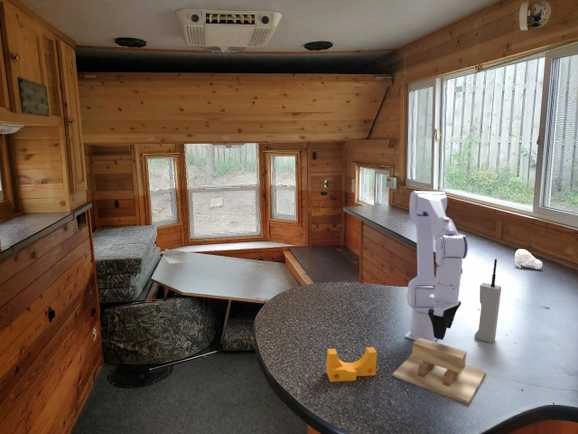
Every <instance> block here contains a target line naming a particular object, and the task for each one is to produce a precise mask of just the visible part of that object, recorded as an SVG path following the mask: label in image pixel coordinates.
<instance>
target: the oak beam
mask: <svg viewBox="0 0 578 434" xmlns="http://www.w3.org/2000/svg"><path fill="white" fill-rule="evenodd" d="M411 350H412V353H411V355H412V358H415V359H418V360H421V361H424V362H427V363H430V364H433V365H436V366H439V367H442V368H445V369H449V370H452V371H455V372H458V373H461V372H462V371H463V369H464V368H465V365H466V361H467V350H463V349H460V348H457V347H456V348H455V347H453V346H449V345H446V344H442V343H439V342H436V341H435V342H433V341H429V340H426V339H422V338H419V337H418V338H417V339H416V340H414V342H413V343H412V349H411Z"/></svg>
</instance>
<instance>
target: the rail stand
mask: <svg viewBox="0 0 578 434" xmlns="http://www.w3.org/2000/svg"><path fill="white" fill-rule="evenodd" d="M486 374H487V371H486V370H483V369H479V368H476V367H474V366H470V365H467V364H465V368H464V369H463V371H462V372H461V373H458V372H455V371H452V370H449V369H445V368H442V367H439V366H436V365H433V364H430V363H427V362H424V361H421V360H418V359H415V358H412V354H410V355H409V356H408V357H407V358H406V359H405V360H404V362H402V363H401V365H400V366H399V367H398V368H397V369H396V370H394V372H393V373H392V377H394V378H397V379H399V380H402V381H404V382H406V383H407V382H408V383H410V384H413V385H416V386H418V387H420V388H423V389H425V390H429V391H431V392H433V393H436V394H439V395H442V396H445V397H447V398H450V399H453V400H455V401H457V402H460V403H463V404H464V405H467V406H468V405H469V404H470V403H471V401H472V399H473V398H474V396H475V394H476V392H477V391H478V388H479V387H480V385H481V383H482V382H483V380H484V379H485V376H486Z"/></svg>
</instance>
